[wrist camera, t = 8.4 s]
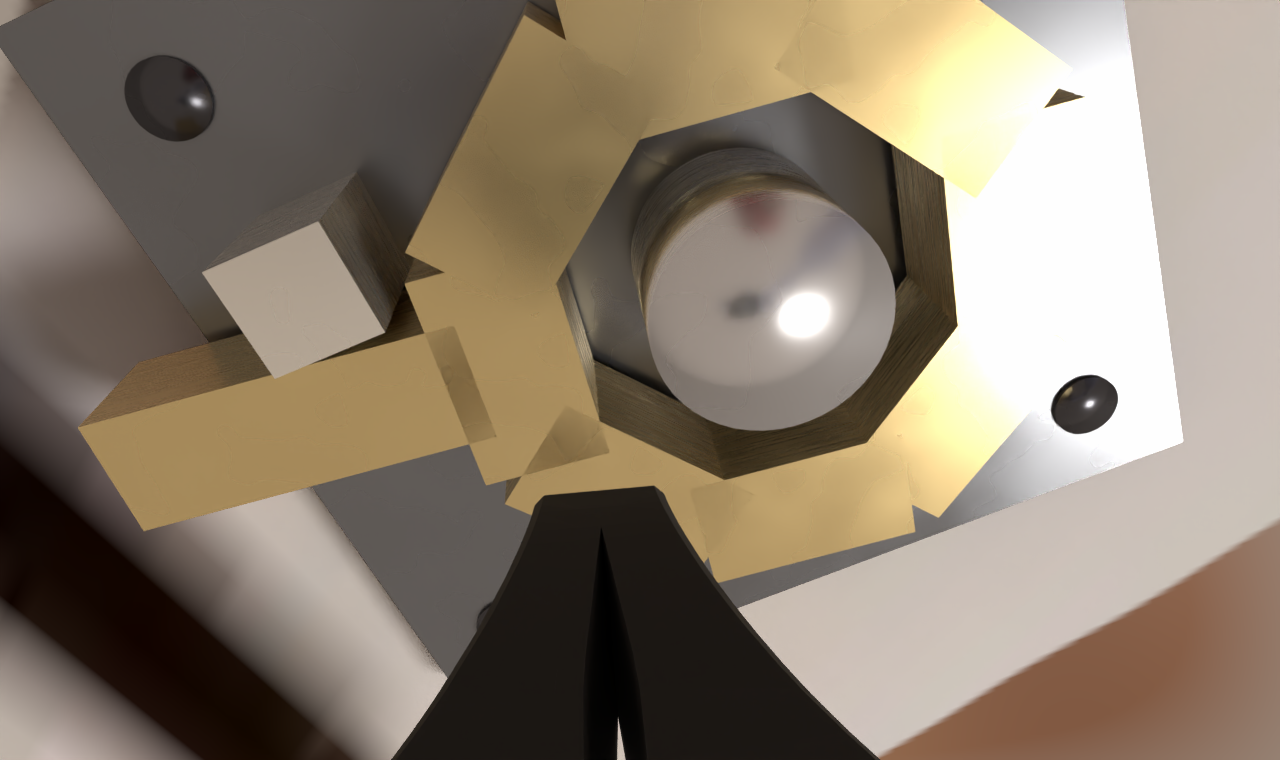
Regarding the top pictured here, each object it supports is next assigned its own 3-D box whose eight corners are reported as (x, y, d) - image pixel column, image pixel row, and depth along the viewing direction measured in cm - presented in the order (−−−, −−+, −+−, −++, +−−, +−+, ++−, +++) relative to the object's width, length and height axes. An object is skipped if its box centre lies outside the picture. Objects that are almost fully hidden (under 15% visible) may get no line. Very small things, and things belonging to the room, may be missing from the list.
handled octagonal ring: (999, -147, 15) (1080, -159, 12) (1031, 421, 20) (1092, 485, 17) (8, 135, 15) (-86, 172, 13) (286, 616, 20) (253, 703, 18)
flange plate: (1027, -458, 14) (1220, -613, 10) (1156, 420, 21) (1295, 534, 17) (20, 25, 16) (-162, 60, 12) (472, 678, 23) (455, 835, 19)
